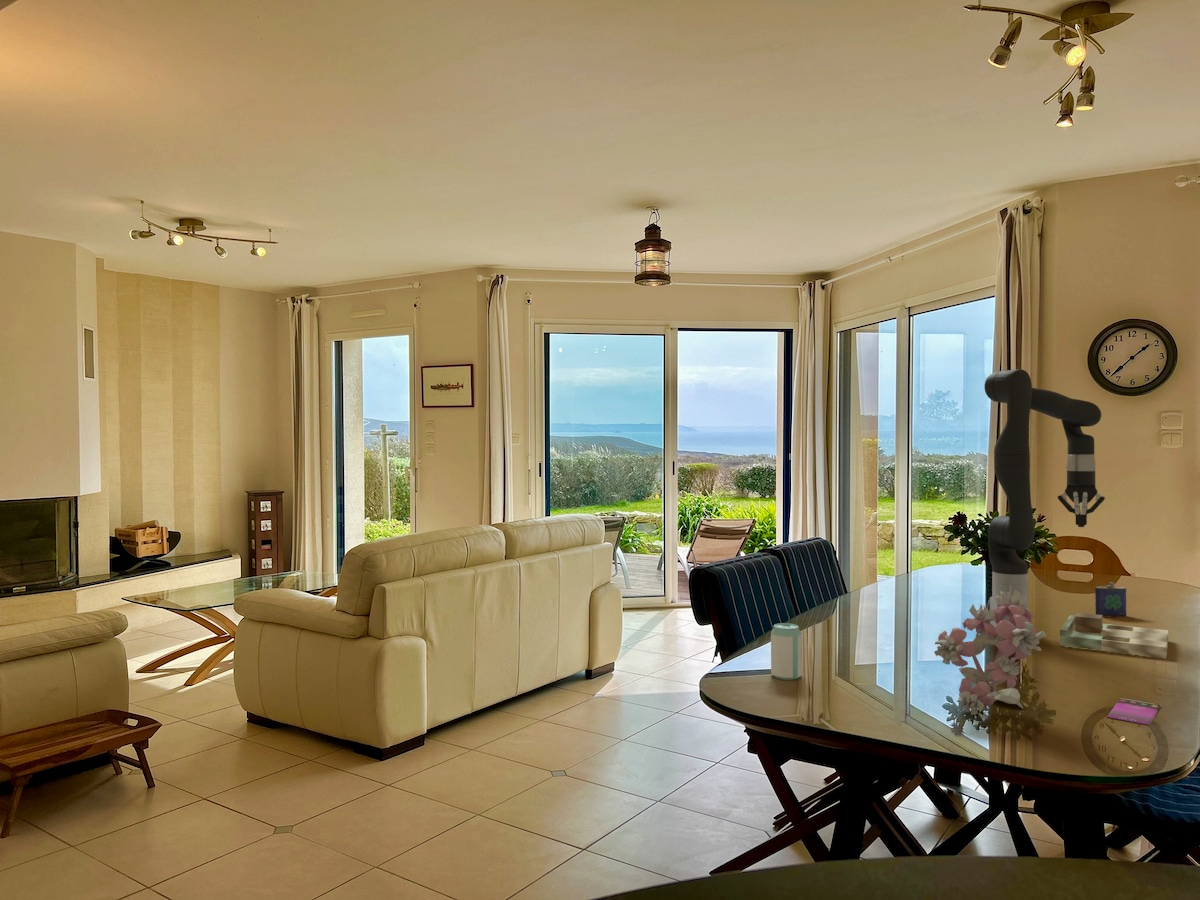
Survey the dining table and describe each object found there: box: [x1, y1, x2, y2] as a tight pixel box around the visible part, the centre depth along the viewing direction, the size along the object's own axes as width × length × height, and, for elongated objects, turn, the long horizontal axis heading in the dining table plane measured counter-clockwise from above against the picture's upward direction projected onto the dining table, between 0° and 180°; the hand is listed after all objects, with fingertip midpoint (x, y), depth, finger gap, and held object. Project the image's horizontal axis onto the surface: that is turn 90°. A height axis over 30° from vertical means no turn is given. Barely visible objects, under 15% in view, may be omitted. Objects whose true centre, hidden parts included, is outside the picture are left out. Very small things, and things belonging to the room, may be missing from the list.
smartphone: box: [1106, 697, 1161, 726], centre depth 169 cm, size 7×15×1 cm, turn 139°
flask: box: [1094, 581, 1127, 618], centre depth 262 cm, size 9×3×11 cm, turn 88°
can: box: [770, 622, 803, 681], centre depth 196 cm, size 7×7×12 cm
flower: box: [933, 585, 1048, 716], centre depth 174 cm, size 20×22×25 cm
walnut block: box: [1075, 612, 1104, 634], centre depth 229 cm, size 6×6×4 cm
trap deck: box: [1059, 614, 1169, 660], centre depth 226 cm, size 24×23×4 cm
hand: (1081, 526), depth 252 cm, fingers closed
